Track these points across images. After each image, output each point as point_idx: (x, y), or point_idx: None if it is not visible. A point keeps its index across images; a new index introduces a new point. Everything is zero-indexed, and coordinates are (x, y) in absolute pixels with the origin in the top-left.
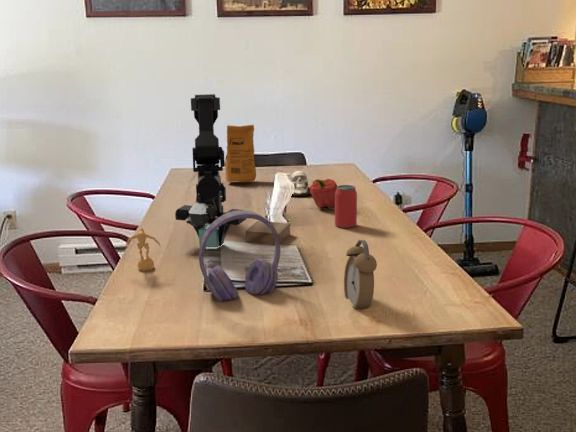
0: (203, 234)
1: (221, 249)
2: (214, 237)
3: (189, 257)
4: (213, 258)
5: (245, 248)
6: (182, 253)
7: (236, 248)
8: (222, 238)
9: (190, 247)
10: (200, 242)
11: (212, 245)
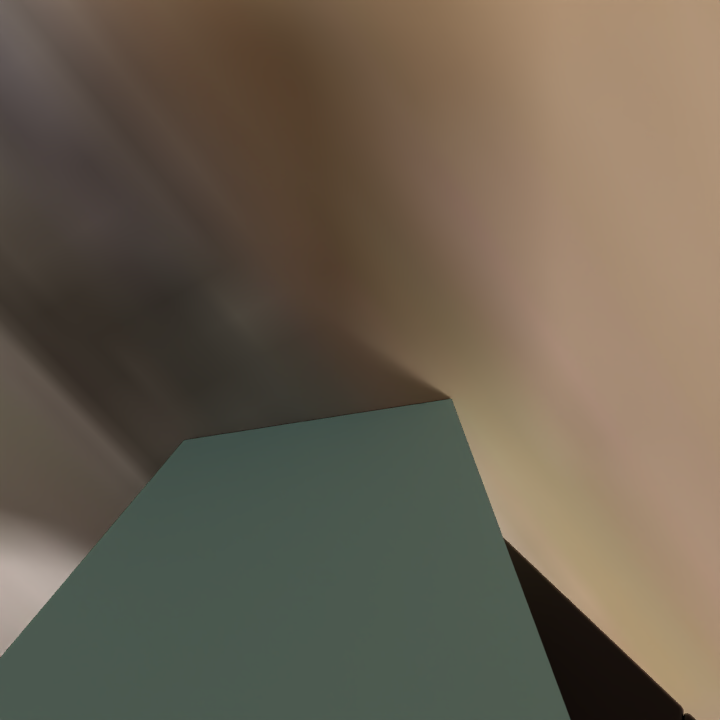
0: (365, 674)
1: None
2: (45, 649)
3: (415, 18)
4: (22, 198)
5: None
6: (664, 150)
7: None
8: None
9: (668, 452)
10: (452, 480)
11: (200, 491)
